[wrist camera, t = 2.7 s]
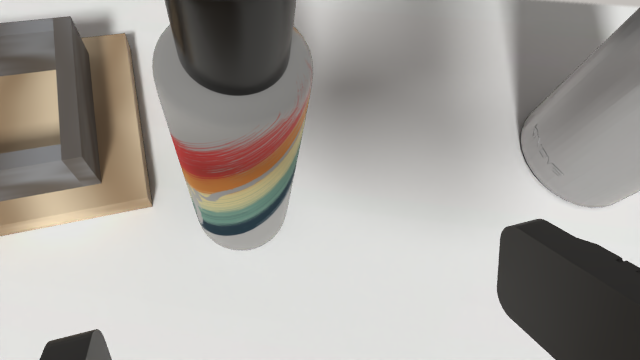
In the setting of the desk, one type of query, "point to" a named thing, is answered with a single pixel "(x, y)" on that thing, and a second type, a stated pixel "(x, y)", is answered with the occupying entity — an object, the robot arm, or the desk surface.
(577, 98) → the robot arm
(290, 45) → the lotion bottle
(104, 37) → the socket board
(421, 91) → the desk surface
